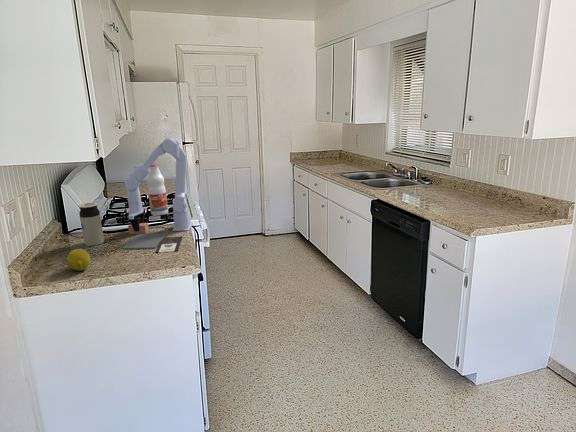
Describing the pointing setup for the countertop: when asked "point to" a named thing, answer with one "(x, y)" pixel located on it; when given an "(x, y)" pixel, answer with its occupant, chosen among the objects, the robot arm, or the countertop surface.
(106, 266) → the countertop surface
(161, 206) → the fruit juice
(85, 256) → the lemon
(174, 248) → the chocolate bar
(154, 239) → the mat
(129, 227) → the block
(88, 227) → the travel mug
